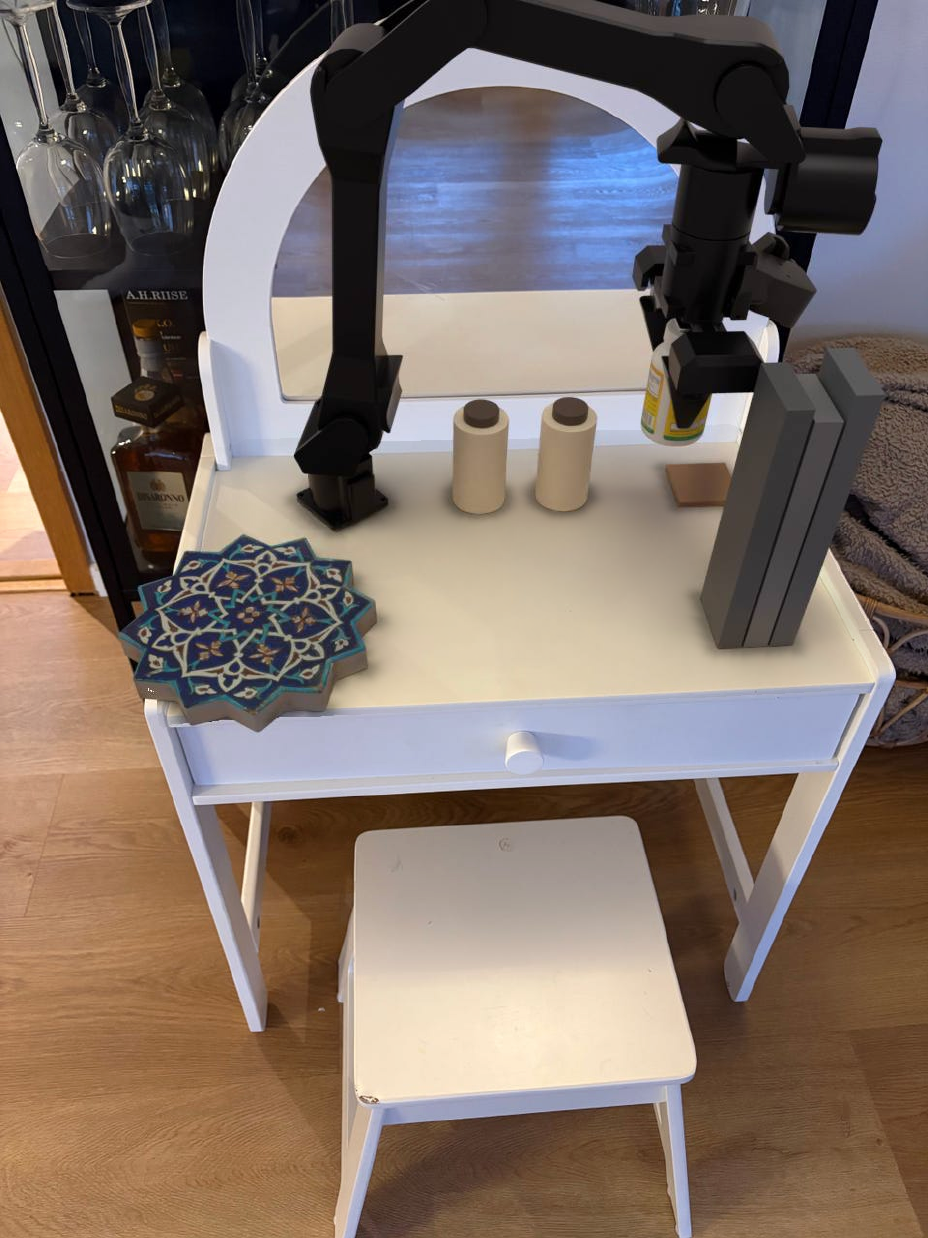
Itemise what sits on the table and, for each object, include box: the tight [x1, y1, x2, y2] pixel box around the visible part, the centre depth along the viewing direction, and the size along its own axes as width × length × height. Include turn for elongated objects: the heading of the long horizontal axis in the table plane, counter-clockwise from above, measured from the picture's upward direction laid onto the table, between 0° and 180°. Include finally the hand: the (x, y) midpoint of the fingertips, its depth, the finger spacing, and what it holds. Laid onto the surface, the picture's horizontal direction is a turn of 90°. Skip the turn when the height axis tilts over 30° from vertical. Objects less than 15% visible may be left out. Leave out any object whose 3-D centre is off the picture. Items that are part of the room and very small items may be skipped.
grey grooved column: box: [699, 347, 886, 649], centre depth 75 cm, size 6×6×24 cm
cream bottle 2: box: [534, 396, 598, 512], centre depth 91 cm, size 5×5×10 cm
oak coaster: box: [665, 462, 732, 508], centre depth 96 cm, size 6×6×1 cm
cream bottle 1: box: [452, 398, 510, 515], centre depth 91 cm, size 5×5×10 cm
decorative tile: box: [117, 533, 378, 733], centre depth 80 cm, size 20×20×2 cm
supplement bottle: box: [640, 319, 713, 447], centre depth 80 cm, size 5×5×10 cm
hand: (675, 408), depth 82 cm, fingers closed on supplement bottle, 5 cm apart
